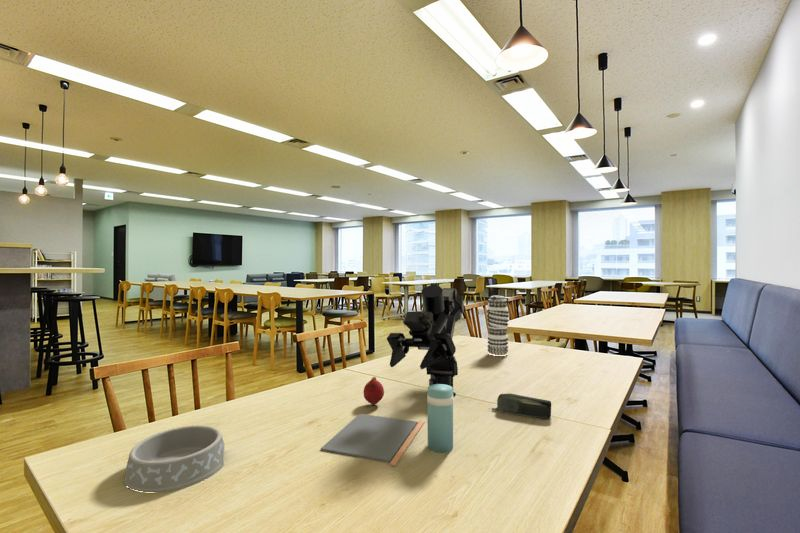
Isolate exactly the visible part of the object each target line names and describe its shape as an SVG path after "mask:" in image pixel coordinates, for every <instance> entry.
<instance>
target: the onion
mask: <svg viewBox="0 0 800 533" xmlns="http://www.w3.org/2000/svg"><path fill="white" fill-rule="evenodd" d="M383 386H384V385H383V384H382V383H381V382H380V381H379V380H377V377H376V376H373V377H372V378H371V380H369V381H368V382H367V383H366V384H365V386H364V387H363V398H364V399H365V401H366V402H368V403H369V404H370V405H372V406H376V405H377V404H378V403H379V402H380V401H381V400H383V398H384V395H385V389H384V387H383Z"/></svg>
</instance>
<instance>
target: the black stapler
mask: <svg viewBox="0 0 800 533" xmlns="http://www.w3.org/2000/svg"><path fill="white" fill-rule="evenodd" d="M496 404H497V407H491V411H494V412H500V413H505V414H511V415H515V416H522V417H527V418H531V419H537V418H538V420H545V419H546V420H550V419H551V417H552V401H550V400H547V399H542V398H541V399H540V398H536V397H530V396H525V395H521V394H517V393H509V392H507V393H500V394H499V395H498V397H497V399H496Z"/></svg>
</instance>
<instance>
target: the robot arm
mask: <svg viewBox="0 0 800 533" xmlns="http://www.w3.org/2000/svg"><path fill="white" fill-rule="evenodd" d="M421 301H422V306H423V311H422V312H421V311H406V314H405V317H404V320H403V322H402V323H403V325H404V326H406V327H407V328H408V329H409V331H408V334H409V336H411V337H406V336H405V335H404V334H405V333H403V332H390V333H389V334H388V335H387V337H386V340H387V343H388V345H389V346H390V348H391V350H392V351H391V356H390V361H389V366H390V367H391V368H393V367H395V366H397V364H399V362H401V361H402V360H403V359H405V357H407V355H406V354H408V353H409V352H410V347H411V348H412V347H413V348H417V350H423V351H424V350H425V351H426V353H425V355H424V357H423V358H422V360H421V363H420V364H419V368H420V370H424V369H426V375H428V376H429V375H430V378H429V379H428V386H430V385H434V384H445V385H449V386H451V387H453V388H454V377H455V376H458V375H459V373H458V372H459V371H458V368H459V367H458V361H457V360H456V356H455V353H456V352H457V351H456V345H455V343H454V341H453V336H454V332H455V326H456V323H457V322H458V321H459V320H461V319H462V315H463V313H464V311H465V305H464V304H465V303H464V298H463V296H461V295H460V294H459V293H458V291H457V288H455V287H454V288H453V287H443V288H442V287H441V286H440V285H439V284H438V283H430V285H428V286H425V287H424V288H423V289H421ZM454 396H457V393H456V392H454V391H453V397H454Z"/></svg>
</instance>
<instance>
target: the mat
mask: <svg viewBox="0 0 800 533" xmlns="http://www.w3.org/2000/svg"><path fill="white" fill-rule="evenodd" d="M418 423H419V421H416V420H415V421H414V420H410V419H409V420H408V419H401V418H394V417H393V418H392V417H387V416H378V415H371V414H366V413H365V414H364V413H359V414H358V415H356V417H355V416H354V418H353V419H352V420H350V421H349V422H348V423H347V424H346V425H345V426H344V427H343V428H341V429H340V430H339V431H338V432H337V433H336V434H335V435H334V436H333V437H332V438H331V439H329V440H328V441H327V442H326V443H325V444H324V445H322V446H321V447H320V451H322V452H323V451H324V452H329V453H335V454H340V455H347V456H353V457H356V458H357V457H358V458H361V459H369V460H374V461H379V462H386V463H390V462H391V461H392V460H393V458H394V457H395V455H396V454H397V453H398V451H399V450H400V448H401V447H402V446H403V444H404V443H405V441H406V440H407V438H408V437H409V436H410V434H411V433H412V431H413V430H414V429H415V427H416V426H417V424H418Z"/></svg>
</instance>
